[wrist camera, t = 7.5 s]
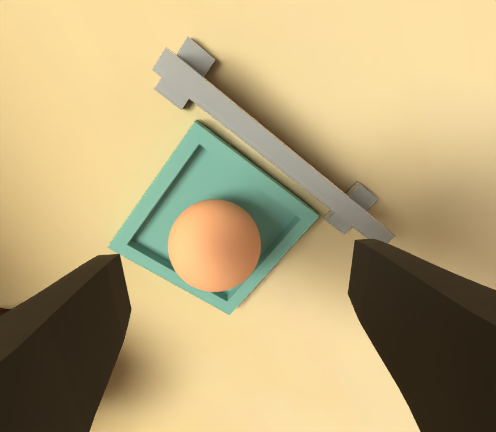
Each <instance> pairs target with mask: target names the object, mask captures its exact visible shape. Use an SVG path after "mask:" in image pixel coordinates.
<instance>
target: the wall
mask: <svg viewBox="0 0 496 432" xmlns="http://www.w3.org/2000/svg"><path fill="white" fill-rule="evenodd" d="M214 62H215V59H214V58H213V57H212V56H211V55H209V54H208V53H207V52H206V51H205V50H204V49H202V48H201V47H200V46H199V45H198V44H197V43H195V42H194V41H193V40H192V39H191V38H190V37H187V39H186V40H185V42H184V44H183V45H182V47H181V48H180V50H179V51H178V53H177V55H176V54H175V53H173V52H172V51H171V50H169V49H168V48H165V50H164V52H163V53H162V55H161V56H160V58H159V60H158V61H157V63H156V64H155V66H154V68H153V69H152V70H153V71H154V72H156V73H157V74H158V75H160V76H161V77H162V78H161V80H160V81H159V83H158V84H157V86H156V88H155V90H156V91H157V92H158V93H160V94H161V95H162V96H164V97H165V98H166V99H168V100H169V101H170V102H172V103H173V104H174V105H176V106H177V107H178V108H179V109H181V110H182V109H183V107H184V106H185V104H186V103H187V101H188V100H189V99H190V100H191V101H193V102H194V103H195V104H197V105H198V106H199V107H200V108H202V109H203V110H204V111H206V112H207V113H208V114H209V115H211V116H212V117H213V118H214V119H216V120H217V121H218V122H220V123H221V124H222V125H223V126H225V127H226V128H227V129H229V130H230V131H231V132H232V133H234V134H235V135H236V136H237V137H239V138H240V139H241V140H243V141H244V142H245V143H246V144H248V145H249V146H250V147H252V148H253V149H254V150H255V151H257V152H258V153H259V154H260V155H262V156H263V157H264V158H266V159H267V160H268V161H269V162H271V163H272V164H273V165H275V166H276V167H277V168H278V169H280V170H281V171H282V172H283V173H285V174H286V175H287V176H289V177H290V178H291V179H292V180H294V181H295V182H296V183H298V184H299V185H300V186H301V187H303V188H304V189H305V190H306V191H308V192H309V193H310V194H312V195H313V196H314V197H315V198H317V199H318V200H319V201H321V202H322V203H323V204H324V205H326V206H327V207H328V208H329V209H331V210H330V211H329V213H328V214H327V215H326V216H325V217H324V218H325V219H326V220H327V221H328V222H329V223H330V224H332V225H333V226H334V227H336V228H337V229H338V230H339V231H341V232H342V233H343V234H346V233H347V231H348V230H349V229H350V228H351V227H354V228H355V229H356V230H358V231H359V232H360V233H361V234H363V235H364V236H365V237H366V238H368V239H376V240H379V241H382V242H385V243H388V242H389V241H390V240H391V239H392V238H393V237H394V236H395V235H394V234H393V233H392V232H390V231H389V230H388V229H387V228H386V227H385V226H383V225H382V224H381V223H380V222H379V221H378V220H376V219H375V218H374V217H373V216H372V215H371V214H370V213H368V212H367V211H368V210H369V208H370V207H371V206H372V205H373V204H374V203H375V202H376V201H377V200H378V198H376V197H375V196H374V195H373V194H372V193H371V192H369V191H368V190H367V189H366V188H365V187H364V186H362V185H361V184H360V183H359V182H356V183H355V184H354V185H353V186H352V187H351V189H350V190H349V191H348V192H347V193H344V192H343V191H342V190H341V189H339V188H338V187H337V186H336V185H335V184H333V183H332V182H331V181H330V180H328V179H327V178H326V177H325V176H324V175H322V174H321V173H320V172H319V171H318V170H316V169H315V168H314V167H313V166H311V165H310V164H309V163H308V162H307V161H305V160H304V159H303V158H302V157H301V156H299V155H298V154H297V153H296V152H294V151H293V150H292V149H291V148H290V147H288V146H287V145H286V144H285V143H284V142H282V141H281V140H280V139H279V138H277V137H276V136H275V135H274V134H273V133H271V132H270V131H269V130H268V129H267V128H265V127H264V126H263V125H262V124H260V123H259V122H258V121H257V120H256V119H254V118H253V117H252V116H251V115H250V114H248V113H247V112H246V111H245V110H243V109H242V108H241V107H240V106H239V105H237V104H236V103H235V102H234V101H233V100H231V99H230V98H229V97H228V96H226V95H225V94H224V93H223V92H222V91H220V90H219V89H218V88H217V87H215V86H214V85H213V84H212V83H211V82H209V81H208V80H207V79H206V78H205V77H204V76H205V75H206V73H207V72H208V70H209V69H210V67H211V66H212V64H213V63H214Z"/></svg>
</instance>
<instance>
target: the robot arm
mask: <svg viewBox="0 0 496 432" xmlns="http://www.w3.org/2000/svg"><path fill="white" fill-rule="evenodd" d="M348 295H349V297H350V300H351V302H352V305H353V307H354V310H355V312H356V314H357V317H358V319H359V321H360V323H361V325H362V327H363V328H364V330H365V332H366V334H367V335H368V337H369V339H370V340H371V342H372V344H373V346H374V347H375V349H376V351H377V352H378V354H379V356H380V357H381V359H382V361H383V362H384V364H385V366H386V367H387V369H388V371H389V372H390V374H391V376H392V377H393V379H394V381H395V382H396V384H397V386H398V387H399V389H400V391H401V393H402V395H403V397H404V399H405V400H406V402H407V404H408V406H409V408H410V410H411V412H412V414H413V417H414V419H415V421H416V423H417V425H418V427H419V429H420V431H421V432H496V290H494V289H491V288H488V287H486V286H483V285H481V284H478V283H476V282H473V281H471V280H468V279H466V278H464V277H461V276H459V275H456V274H454V273H452V272H449V271H447V270H445V269H443V268H440V267H438V266H436V265H434V264H431V263H429V262H427V261H425V260H423V259H420V258H418V257H416V256H414V255H412V254H410V253H407V252H405V251H403V250H401V249H399V248H396V247H394V246H392V245H390V244H387V243H385V242H382V241H379V240H376V239H361V240H355V243H354V251H353V259H352V266H351V274H350V281H349V289H348ZM130 313H131V305H130V300H129V296H128V291H127V286H126V282H125V277H124V272H123V267H122V263H121V258H120V254H113V255H98V256H96V257H94V258H93V259H91V260H89V261H87V262H86V263H84V264H83V265H81V266H79V267H78V268H76V269H75V270H73V271H72V272H70V273H69V274H67V275H66V276H64V277H62V278H61V279H59V280H58V281H56V282H55V283H53V284H52V285H50V286H49V287H47V288H46V289H44V290H43V291H41V292H39V293H38V294H36V295H35V296H33V297H31V298H30V299H28V300H26V301H25V302H23V303H21V304H20V305H18V306H16V307H15V308H13V309H11V310H10V311H8V312H6V313H5V314H3V315H2V316H0V432H89V431H90V428H91V425H92V423H93V420H94V417H95V414H96V412H97V409H98V407H99V404H100V401H101V399H102V396H103V394H104V391H105V389H106V386H107V384H108V381H109V378H110V376H111V373H112V371H113V368H114V366H115V363H116V360H117V358H118V355H119V352H120V350H121V347H122V344H123V342H124V339H125V335H126V331H127V327H128V322H129V318H130Z"/></svg>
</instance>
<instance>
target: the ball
mask: <svg viewBox="0 0 496 432" xmlns="http://www.w3.org/2000/svg"><path fill="white" fill-rule="evenodd" d="M260 250H261V239H260V234H259V231H258V228H257V226H256V224H255V222H254V220H253V219H252V217H251V216H250V215H249V214H248V213H247V212H246V211H245V210H244V209H243V208H241V207H240V206H238V205H237V204H234V203H232V202H229V201H226V200H220V199H209V200H204V201H200V202H198V203H195V204H193V205H191V206H190V207H188V208H187V209H185V210H184V211H183V212H182V213H181V214H180V215H179V217H178V218H177V219H176V221H175V222H174V224H173V226H172V228H171V231H170V234H169V239H168V253H169V258H170V261H171V264H172V266H173V268H174V270H175V271H176V273H177V274H178V275H179V276H180V277H181V279H182V280H184V281H185V282H186V283H187V284H189V285H190V286H192V287H194V288H197V289H199V290H203V291H207V292H220V291H225V290H229V289H232V288H234V287H236V286H237V285H239V284H241V283H242V282H243V281H245V280H246V279H247V278H248V277H249V276H250V274H251V273H252V272H253V270H254V269H255V267H256V265H257V262H258V260H259V256H260Z"/></svg>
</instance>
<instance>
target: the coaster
mask: <svg viewBox="0 0 496 432" xmlns="http://www.w3.org/2000/svg"><path fill="white" fill-rule="evenodd" d="M209 199H220V200H226V201H229V202H232V203H234V204H237V205H238V206H240V207H241V208H243V209H244V210H245V211H246V212H247V213H248V214H249V215H250V216H251V217H252V219H253V220H254V222H255V224H256V226H257V228H258V231H259V234H260V239H261V250H260V256H259V260H258V262H257V265H256V267H255V269H254V270H253V272H252V273H251V274H250V276H249V277H248V278H247V279H246V280H245V281H243V282H242V283H241V284H239V285H237V286H236V287H234V288H232V289H229V290H225V291H220V292H207V291H203V290H199V289H197V288H194V287H192V286H190V285H189V284H187V283H186V282H185V281H184V280H182V279H181V277H180V276H179V275H178V274H177V273H176V271H175V270H174V268H173V266H172V264H171V261H170V258H169V253H168V239H169V234H170V231H171V228H172V226H173V224H174V222H175V221H176V219H177V218H178V217H179V215H180V214H181V213H182V212H183V211H184V210H185V209H187V208H188V207H190V206H191V205H193V204H195V203H198V202H200V201H204V200H209ZM318 217H319V215H318V214H317V213H316V211H315V210H314V209H313V208H311V207H310V206H309V205H307V204H306V203H305V202H303V201H302V200H301V199H300V198H298V197H297V196H296V195H294V194H293V193H292V192H290V191H289V190H288V189H286V188H285V187H284V186H283V185H281V184H280V183H279V182H277V181H276V180H275V179H273V178H272V177H271V176H269V175H268V174H267V173H266V172H264V171H263V170H262V169H260V168H259V167H258V166H256V165H255V164H254V163H252V162H251V161H250V160H249V159H247V158H246V157H245V156H243V155H242V154H241V153H239V152H238V151H237V150H235V149H234V148H233V147H232V146H230V145H229V144H228V143H226V142H225V141H224V140H222V139H221V138H220V137H218V136H217V135H216V134H215V133H213V132H212V131H211V130H209V129H208V128H207V127H205V126H204V125H203V124H201V123H200V122H199V121H198V120H196V121H195V122H194V124H193V125H192V127H191V128H190V129H189V131H188V132H187V134H186V135H185V137H184V138H183V140H182V141H181V142H180V144H179V145H178V147H177V148H176V150H175V151H174V152H173V154H172V155H171V157H170V158H169V160H168V161H167V162H166V164H165V165H164V167H163V168H162V170H161V171H160V172H159V174H158V175H157V177H156V178H155V180H154V181H153V183H152V184H151V185H150V187H149V188H148V190H147V191H146V193H145V194H144V195H143V197H142V198H141V200H140V201H139V203H138V204H137V205H136V207H135V208H134V210H133V211H132V213H131V214H130V215H129V217H128V218H127V220H126V221H125V223H124V224H123V226H122V227H121V228H120V230H119V231H118V233H117V234H116V236H115V237H114V238H113V240H112V241H111V243H110V244H109V246H108V248H109V249H111V250H113V251H115V252H117V253H118V254H120V255H122V256H124V257H126V258H127V259H129V260H131V261H133V262H135V263H136V264H138V265H140V266H142V267H144V268H145V269H147V270H149V271H151V272H153V273H155V274H156V275H158V276H160V277H162V278H164V279H165V280H167V281H169V282H171V283H173V284H174V285H176V286H178V287H180V288H182V289H183V290H185V291H187V292H189V293H191V294H192V295H194V296H196V297H198V298H200V299H202V300H203V301H205V302H207V303H209V304H211V305H212V306H214V307H216V308H218V309H220V310H221V311H223V312H225V313H227V314H229V315H230V314H231V313H232V312H233V311H234V310H235V309H236V308H237V307H238V305H239V304H240V303H241V302H242V301H243V300H244V299H245V298H246V297H247V296H248V294H249V293H250V292H251V291H252V290H253V289H254V288H255V287H256V286H257V285H258V283H259V282H260V281H261V280H262V279H263V278H264V277H265V276H266V275H267V274H268V272H269V271H270V270H271V269H272V268H273V267H274V266H275V265H276V264H277V263H278V261H279V260H280V259H281V258H282V257H283V256H284V255H285V254H286V253H287V252H288V250H289V249H290V248H291V247H292V246H293V245H294V244H295V243H296V242H297V241H298V239H299V238H300V237H301V236H302V235H303V234H304V233H305V232H306V231H307V230H308V228H309V227H310V226H311V225H312V224H313V223H314V222H315V221H316V220H317V219H318Z"/></svg>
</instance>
